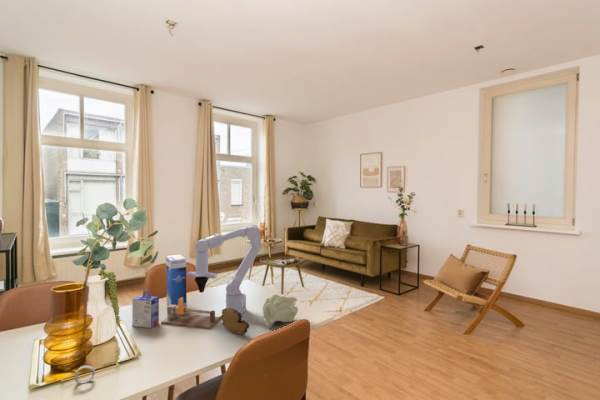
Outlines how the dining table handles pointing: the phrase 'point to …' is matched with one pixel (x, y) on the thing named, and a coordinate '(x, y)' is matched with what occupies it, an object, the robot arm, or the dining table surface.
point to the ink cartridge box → (145, 311)
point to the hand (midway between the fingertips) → (201, 291)
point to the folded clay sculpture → (279, 309)
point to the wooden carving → (234, 321)
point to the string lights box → (176, 279)
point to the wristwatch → (85, 380)
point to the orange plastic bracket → (180, 307)
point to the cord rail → (190, 318)
